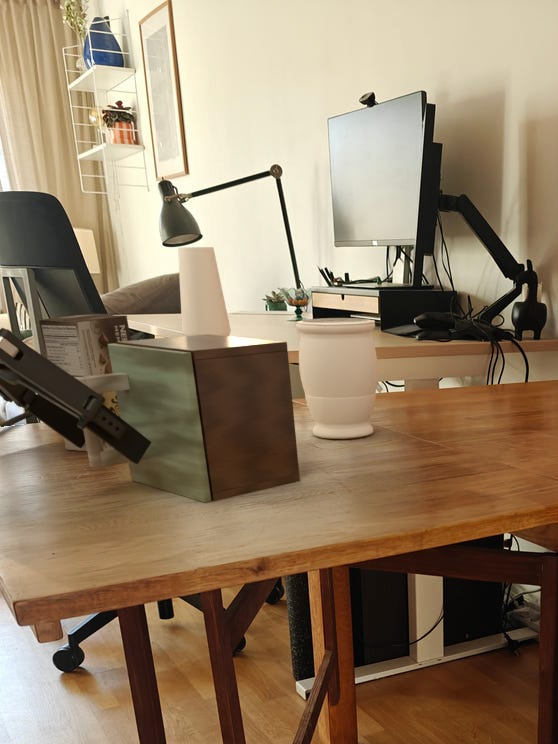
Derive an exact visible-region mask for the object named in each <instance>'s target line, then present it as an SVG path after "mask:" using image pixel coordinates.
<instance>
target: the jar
mask: <svg viewBox="0 0 558 744" xmlns="http://www.w3.org/2000/svg"><path fill="white" fill-rule="evenodd" d="M375 322H376V321H375V320H374V319H368V318H359V317H357V318H355V317H327V318H325V317H324V318H323V317H322V318H309V319H303V320H298V321H296V322H295V323H296V324H295V328H296V330H297V332H299V333H300V338H299V339H300V340H299V346H298V367H299V376H300V381H301V386H302V388H303V392H304V399H305V403H306V405H307V409H308V412H309V414H310V416H311V417H312V420H314V423H315V424H314V426H313V428H312V435H314V436H315V437H318V438H322V439H330V440H349V439H359V438H363V437H368V436H370V435H372V434H373V433H374V428H373V426H372V424H371V422H370V419H371V418H372V415H373V413H374V410H375V405H376V398H377V393H376V392H377V387H378V373H379V371H378V370H379V369H378V368H379V367H378V356H377V350H376V346H375V345H376V344H375V341H374V338H373V335H372V331H374V330H375V328H376V323H375Z"/></svg>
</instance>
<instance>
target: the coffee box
mask: <svg viewBox="0 0 558 744" xmlns="http://www.w3.org/2000/svg"><path fill="white" fill-rule="evenodd" d="M128 321H129V320H128V315H121V314H120V315H115V314H107V313H87V314H80V315H79V314H78V315H69V316H68V315H67V316H60V317H59V316H58V317H51V318H42V319H38V323H39V329H40V333H41V337H42V343H43V347H44V351H45V358H47V359H48V360H50V361H51V362H53V363H54V364H55V365H57V366H58V367H60V368H61V369H63V370H64V371H66V372H67V373H69V374H70V375H72V376H73V377H83V376H92V375H101V374H111V373H113V372H112V367H111V361H110V355H109V350H108V344H117V342H119V341H132V338H131V333H130V326H129V322H128ZM99 394H101V395H102V396H103V397H104V398H105V402H104V403H103V404H104V405H105V406H106V407H107V408H109V409H110V410H111V411H112V412H114V413H115V414H116V415H118V416H119V417H120V412H119V406H118V401H117V395H116V391H113V392H105V393H99ZM62 438H63V441H64V447H65V450H68V451H78V452H87V447H86V442H85V443H84V445H83V446H82V448H78V447H77V446H75V445H74V444H73V443H71V442H70V441H68V440H67V439H66V438H64V437H63V436H62ZM102 443H103V448H107V447H111V446H110V445H109V444H107V443H106V442H105V441H103V440H102Z"/></svg>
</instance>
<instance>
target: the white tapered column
mask: <svg viewBox="0 0 558 744" xmlns="http://www.w3.org/2000/svg"><path fill="white" fill-rule="evenodd" d="M177 254H178V275H179V291H180V292H179V293H180V296H179V297H180V313H181V314H180V315H181V332H182V334H183V336H193V335H206V334H209V335H219V336H230V335H231V329H232V328H231V325H230V319H229V316H228V310H227V306H226V301H225V296H224V292H223V287H222V282H221V277H220V273H219V267H218V263H217V259H216V254H215V249H214V247H213V246H209V247H208V246H207V247H206V246H204V247H203V246H202V247H201V246H197V247H196V246H193V247H192V246H191V247H189V246H188V247H185V246H184V247H177Z"/></svg>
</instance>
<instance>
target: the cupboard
mask: <svg viewBox="0 0 558 744" xmlns="http://www.w3.org/2000/svg"><path fill="white" fill-rule="evenodd" d="M117 344H123V345H131V346H140V347H148V348H156V349H165V350H173V351H182V352H190V353H191V357H192V365H193V372H194V379H195V386H196V394H197V401H198V408H199V415H200V422H201V430H202V437H203V444H204V451H205V458H206V466H207V473H208V480H209V487H210V495H211V501H210V502H217V501H221V500H224V499H225V500H226V499H230V498H234V497H238V496H242V495H247V494H252V493H256V492H260V491H265V490H269V489H273V488H277V487H281V486H285V485H286V486H287V485H290V484H294V483H298V482H301V477H300V476H301V475H300V468H299V457H298V456H299V455H298V446H297V445H298V444H297V436H296V434H297V433H296V425H295V423H296V422H295V413H294V403H293V394H292V392H293V391H292V384H291V383H292V381H291V380H292V379H291V372H290V361H289V350H288V342H287V341H284V340H283V341H281V340H273V339H272V340H271V339H263V338H250V337H240V336H230V335H229V336H219V335H209V334H206V335H193V336H184V335H183V336H173V337H171V336H169V337H158V338H146V339H145V338H143V339H134V340H132V339H131V341H119V342H117Z"/></svg>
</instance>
